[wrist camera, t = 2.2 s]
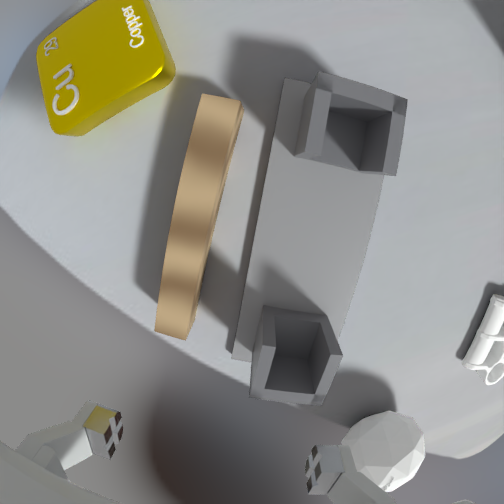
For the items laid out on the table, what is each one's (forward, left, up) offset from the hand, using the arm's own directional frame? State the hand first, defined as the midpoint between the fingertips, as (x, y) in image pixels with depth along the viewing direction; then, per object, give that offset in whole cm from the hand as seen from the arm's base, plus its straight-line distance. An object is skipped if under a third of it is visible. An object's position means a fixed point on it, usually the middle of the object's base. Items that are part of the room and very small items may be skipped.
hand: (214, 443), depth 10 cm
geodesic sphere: (+23, +24, -23) cm, 41 cm away
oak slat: (-4, -6, -23) cm, 24 cm away
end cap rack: (-4, +6, -23) cm, 24 cm away
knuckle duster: (+4, +42, -24) cm, 49 cm away
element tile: (-21, -21, -24) cm, 38 cm away
